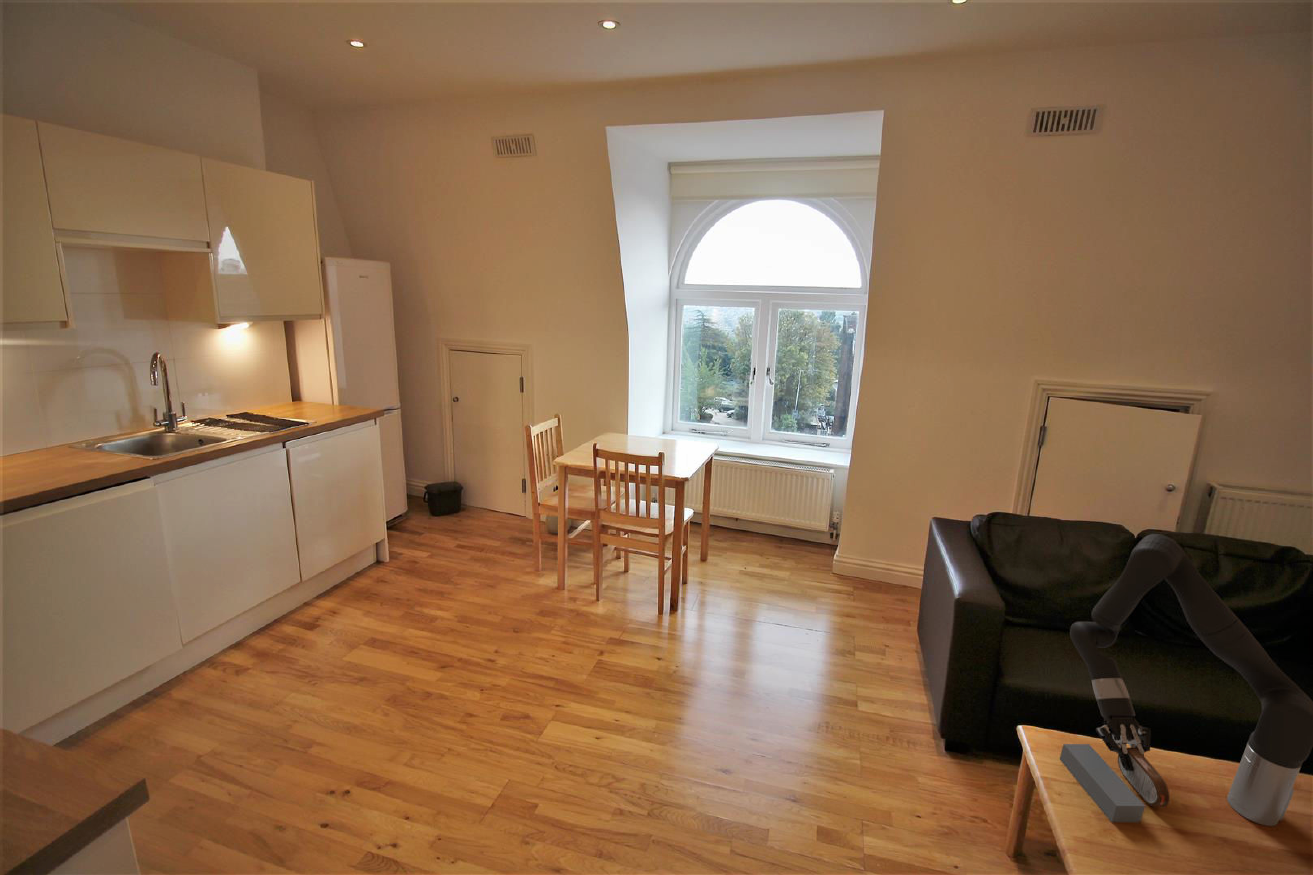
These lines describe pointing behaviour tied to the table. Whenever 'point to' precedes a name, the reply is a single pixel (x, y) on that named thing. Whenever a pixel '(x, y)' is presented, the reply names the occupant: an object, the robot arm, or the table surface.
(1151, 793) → the tin
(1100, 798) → the base brick
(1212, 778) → the table surface
